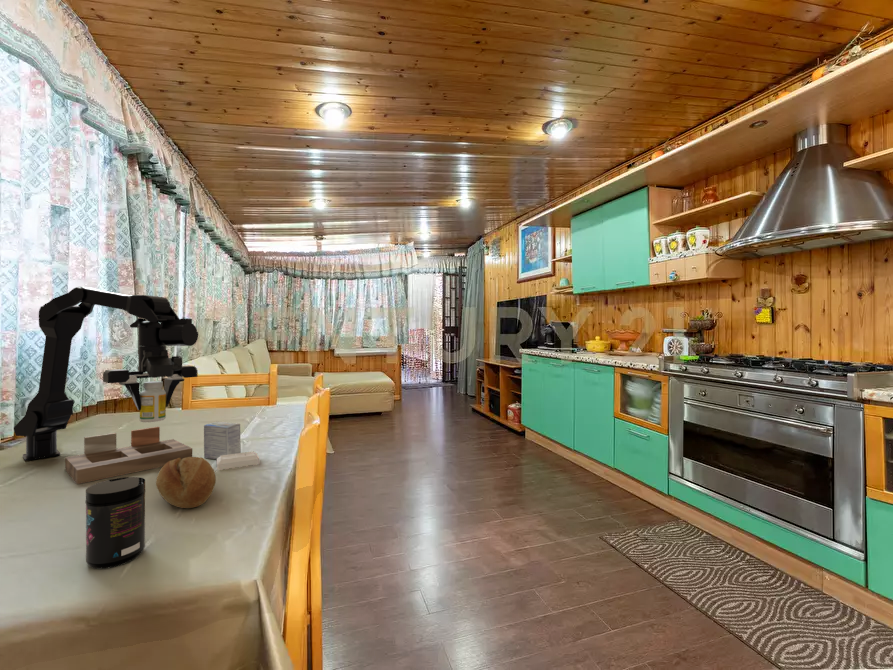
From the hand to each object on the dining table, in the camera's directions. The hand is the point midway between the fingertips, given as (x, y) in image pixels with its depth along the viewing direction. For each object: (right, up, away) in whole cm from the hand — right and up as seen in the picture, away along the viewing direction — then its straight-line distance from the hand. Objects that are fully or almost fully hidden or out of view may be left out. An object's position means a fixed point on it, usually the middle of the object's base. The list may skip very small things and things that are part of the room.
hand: (152, 408), depth 105 cm
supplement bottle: (0, -3, 0) cm, 3 cm away
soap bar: (+23, -14, -3) cm, 27 cm away
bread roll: (+23, -14, -24) cm, 36 cm away
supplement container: (+26, -14, -45) cm, 54 cm away
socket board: (-3, -13, -3) cm, 14 cm away
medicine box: (+16, -13, +3) cm, 21 cm away
